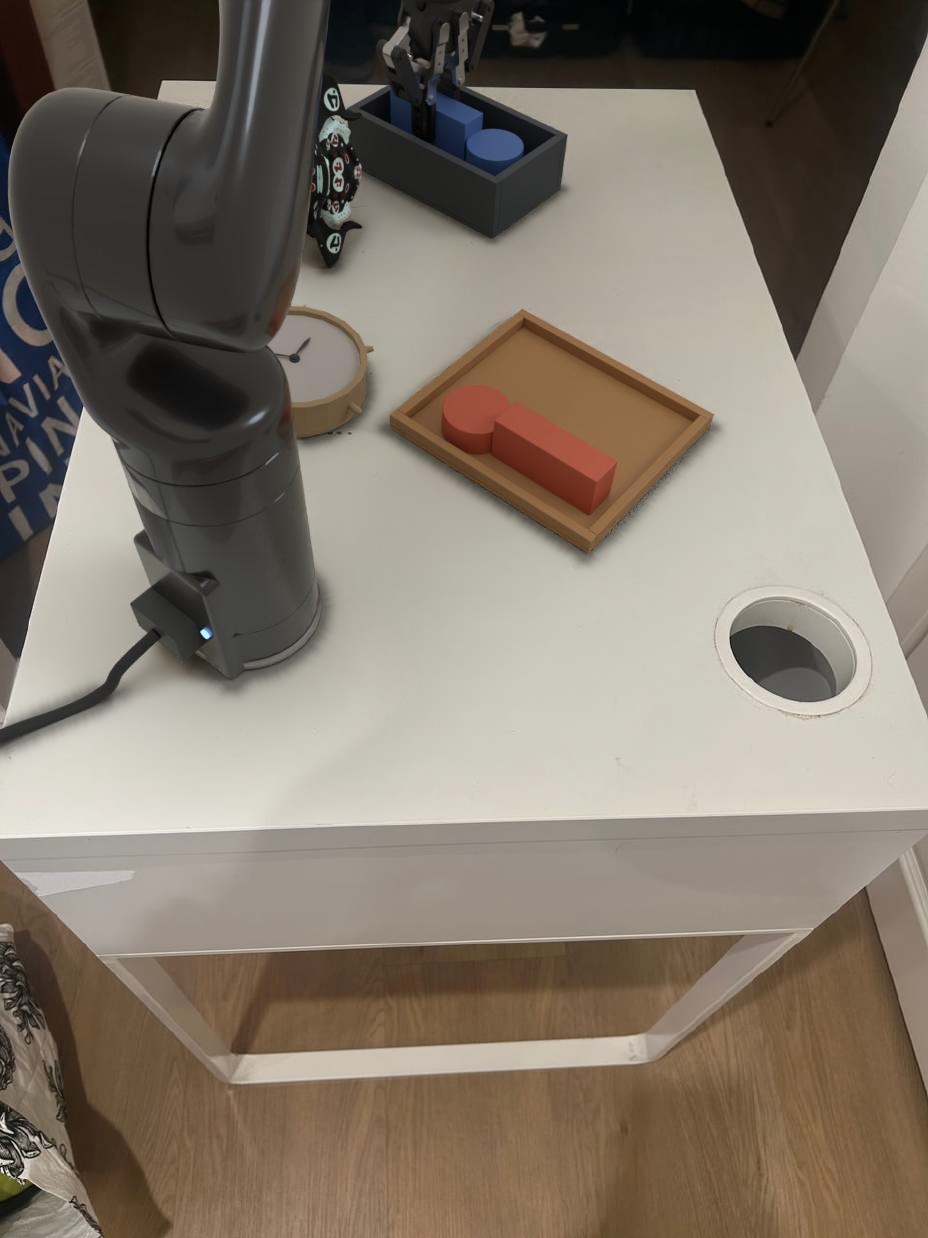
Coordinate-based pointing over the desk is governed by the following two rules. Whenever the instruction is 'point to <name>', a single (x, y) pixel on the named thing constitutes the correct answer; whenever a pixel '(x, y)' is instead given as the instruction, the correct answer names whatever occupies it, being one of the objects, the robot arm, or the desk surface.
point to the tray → (561, 420)
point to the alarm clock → (321, 369)
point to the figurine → (332, 174)
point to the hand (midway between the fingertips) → (435, 130)
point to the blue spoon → (463, 134)
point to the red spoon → (527, 445)
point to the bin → (461, 163)
